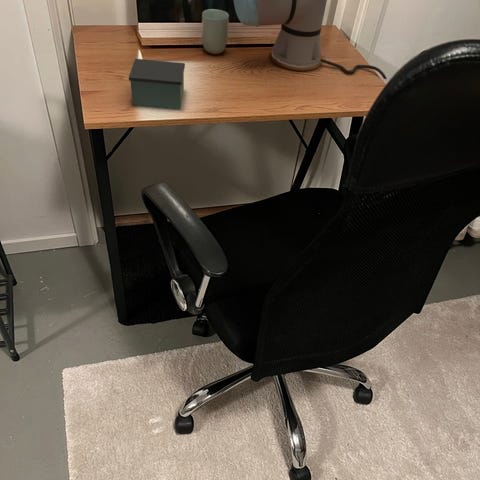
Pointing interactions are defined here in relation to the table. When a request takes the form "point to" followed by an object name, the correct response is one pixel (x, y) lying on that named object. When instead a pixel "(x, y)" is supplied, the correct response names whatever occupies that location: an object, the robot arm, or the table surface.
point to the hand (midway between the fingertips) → (215, 17)
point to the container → (157, 83)
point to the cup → (214, 30)
